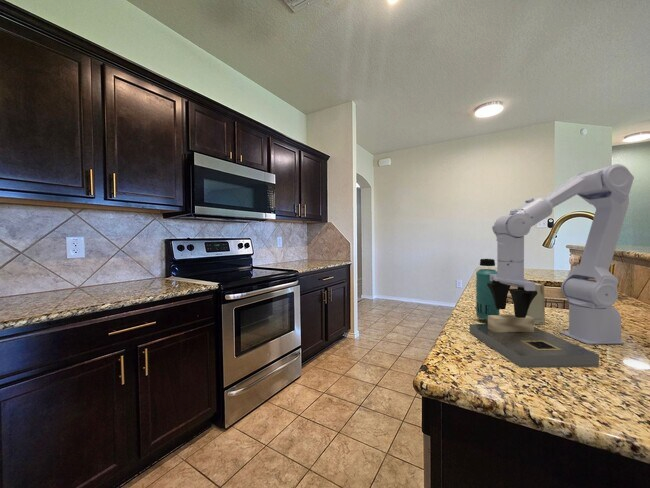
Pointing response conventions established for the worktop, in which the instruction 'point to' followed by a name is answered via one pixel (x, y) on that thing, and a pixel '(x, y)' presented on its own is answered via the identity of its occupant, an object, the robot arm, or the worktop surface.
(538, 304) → the skincare box
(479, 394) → the worktop surface
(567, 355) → the charcoal cover panel
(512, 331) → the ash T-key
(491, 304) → the beverage bottle
